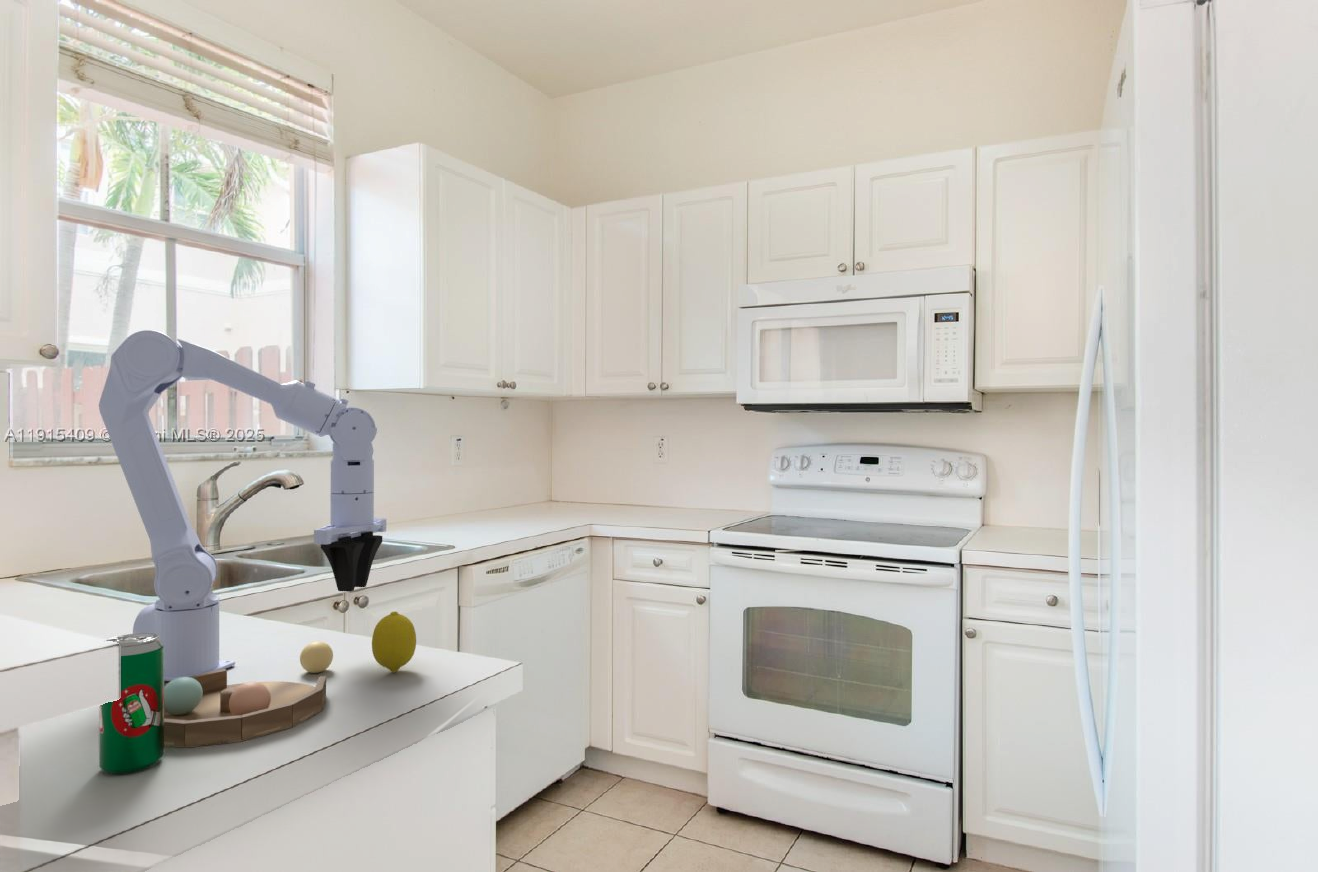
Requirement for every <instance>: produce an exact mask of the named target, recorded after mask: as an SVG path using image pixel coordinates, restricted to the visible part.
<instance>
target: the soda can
mask: <svg viewBox="0 0 1318 872" xmlns="http://www.w3.org/2000/svg"><path fill="white" fill-rule="evenodd" d="M159 637H160V636H159V635H158V634H155V633H135V634H133V633H130V634H129V633H128V634H123V635H122V634H121V635H118V636H114V637H111V638H108V639H106V640H105V641H113V642H117V643H119V644H120V646H121V698H120V699H119V700H117V701H113V702H108V703H105V704H103V705H100V706H99V707H98V711H99V712H98V717H99V721H98V723H99V724H98V725H99V727H98V728H99V730H98V731H99V732H98V735H99V736H98V737H99V738H98V743H99V744H98V745H99V746H98V749H99V751H98V752H99V754H98V755H99V756H98V757H99V758H98V764H99V768H100V769H101V771H103V772H105V773H106V774H109V775H117V776H118V775H119V776H120V775H122V776H123V775H130V774H134V773H135V774H136V773H139V772H143V771H144V770H147V769H149V768H152V767H154V766H155V765H156V764H157V763H159V762H160V760H161V759H162V758H163V756H164V755H165V746H164V684H165V681H164V645H163V644H162V643H161V641H160V640H159Z"/></svg>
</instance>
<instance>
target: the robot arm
mask: <svg viewBox="0 0 1318 872" xmlns="http://www.w3.org/2000/svg"><path fill="white" fill-rule="evenodd" d="M176 341H178V343H177V342H176ZM176 341H175V340H173V338H171V337H170V336H169V335H167V334H165V333H164V332H161V331H159V330H152V329H151V330H150V329H144V330H140V331H136V332H134V333H131V334H130V335H129V336H128V337H126V338H125V339H124V341H122V343H121V344H120V345H119V346H118V347H117V348H116V350H115V351H114V352H112V354H111V357H110V364H109V365H110V366H109V370H108V374H107V377H106V379H105V382H104V386H103V390H102V392H101V395H100V399H99V401H98V402H99V403H98V410H99V414H100V415H101V419H102V421H103V424H104V426H105V429H106V431H107V435H108V436H109V439H110V441H111V444H112V446H113V449H114V453H115V454H116V456H117V457H116V458H117V460H118V462H119V464H120V467H121V470H122V472H123V475H124V477H125V479H126V482H127V485H128V488H129V491H130V492H131V495H132V497H133V500H134V503H135V505H136V508H137V511H138V513H139V516H140V519H141V520H142V521H141V522H142V524H143V525H144V528H145V530H146V533H147V535H148V538H149V541H150V551H151V552H150V553H151V559H152V562H153V564H154V567H155V576H154V581H153V587H154V588H153V589H154V592H155V595H156V596H157V597H158V599H157V600H156V601H155V602H154V603H151V604H149V605H147V606H145V607H144V608H142V609H141V610H140V611H139V612H138V614H137V615H136V618H135V620H134V623H133V627H132V634H135V633H155V634H158V635H159V636H160V637H159V640H160V641H161V643H162V644H163V645H164V682H170V681H172V680H174V679H176V678H179V677H189V676H193V675H198V674H203V673H208V672H212V671H217V670H222V669H225V670H226V669H228V668H230V667H232V666H235V665H236V661H235V660H224V659H223V660H222V659H220V597H219V596H218V595H217V594H215V593H214V591H213V589H212V587H213V585H214V584H215V582H216V580H217V578H218V575H219V565H218V562H217V560H216V559H215V557H214V556H213V555H212V554H211V553H210V552H209V551H207V550H206V549H205V548H204V546H203V544H202V543H201V541H200V538H199V536H198V535H197V532H196V531H195V529H194V528H193V526H192V523H191V521H190V519H189V517H188V514H187V513H188V512H187V511H186V509H185V506H184V503H183V501H182V498H181V495H180V493H179V490H178V487H177V485H176V483H175V480H174V476H173V474H172V473H171V472H172V471H171V469H170V467H169V464H168V461H167V459H166V456H165V453H164V451H163V448H162V446H161V444H160V440H159V438H158V436H157V433H156V431H155V428H154V425H153V423H152V420H151V417H150V415H149V413H150V411H151V409H152V408H153V406H154V405H155V404H156V402H157V401H158V399H159V398H160V397H161V395H162V393H163V392H164V391H166V390H168V388H170V387H171V386H173V385H174V384H175V383H177V382H178V381H179V380H180V379H182V378H184V379H187V380H188V381H205V380H206V381H215V382H217V383H220V384H222V385H224V386H226V387H229V388H231V389H234V390H236V391H239V392H241V393H244V394H246V395H248V396H251V397H253V398H256V399H257V400H261V401H263V402H266V403H267V404H270V405H271V406H272V409H273V412H274V414H275V417H276V418H277V419H279V420H281V421H284V422H286V423H288V424H291V425H293V426H295V427H298V428H299V429H301V430H303V431H306V432H309V433H311V434H313V435H316V436H318V437H321V438H322V437H325V436H328V437H329V438H330V440H331V441H332V458H331V460H330V492H329V493H330V495H329V496H330V524H327V525H325V526H322V527H320V528H318V529H317V528H315V529H313V545H320V549H321V550H322V551H323V553H324V555H325V557H326V559H327V561H328V563H329V564H330V567H331V570H332V573H333V577H334V580H335V584H336V588H337V590H338V592H348V593H349V592H350V593H351V592H353V591H354V590H355V588H366V587H367V584H368V580H369V577H370V573H371V569H372V565H373V562H374V559H375V556H376V554H377V552H378V549H380V547H381V545H382V543H383V535H379V534H378V535H377V534H376V533H383V532H384V533H385V532H387V518H381V517H380V518H376V517H375V516H374V515H375V510H374V509H375V508H374V507H375V503H374V502H375V500H374V499H375V460H374V459H373V456H374V447H373V441H374V440H375V438H376V436H377V433H378V432H377V431H378V427H376V424H375V420H374V418H373V417H372V416H371V415H370V413H369V412H367V411H366V410H364V409H361V408H359V407H351V406H350V407H347V406H348V404H349V400H348V399H346V398H344V397H341V399H338V398H337V397H336V398H335V397H334V396H331V395H330V394H327V393H325V392H323V391H320V390H318V388H317V389H316V388H315V387H316V383H314V382H313V381H309V380H306V381H305V382H304V383H303V382H302V381H299V380H292V381H289V382H286V383H280V382H278V381H276V380H274V379H272V378H269V377H268V376H265V375H263V373H260V372H257V371H255V370H253V369H251V368H249V367H248V366H245V365H243V364H241V363H239V362H237V361H235V360H233V359H231V358H229V357H227V356H224V354H221V353H219V352H216V351H214V350H212V349H210V348H207V347H204V346H201V345H199V344H195V343H192V342H190V341H188V340H187V341H186V340H184V339H181V338H176ZM374 533H375V534H376V535H375V534H374Z"/></svg>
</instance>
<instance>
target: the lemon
mask: <svg viewBox="0 0 1318 872" xmlns="http://www.w3.org/2000/svg"><path fill="white" fill-rule="evenodd" d="M414 626H415V625H414V624H413V622H412V621H411V620H410V618H408V617H407V616H405V615H403V614H402V613H401V614H400V613H399V612H397V611H391V612H390V614H387V615H386V616H384V617H382V618H381V619H380V620H379V621H378V622H377V624H376V625H375V628H373V633H372V638H371V649H372V655H373V657H374V659H375V662H376V663H378V665H380V666H381V667H383V668H386V669H387V670H389V671H390V672H391V673H397V672H398V670H400V669H401V668H402V667H404V666H405V665H407V664H408V663H409V662H410V661H411V660H412V659H413V656H414V654H415V652H416V647H417V634H416V633H417V632H416V629H415V627H414Z"/></svg>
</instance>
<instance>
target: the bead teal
mask: <svg viewBox="0 0 1318 872" xmlns="http://www.w3.org/2000/svg"><path fill="white" fill-rule="evenodd" d="M168 682H169V683H168ZM168 682H167V683H168V684H167V685H166V686H165V687H164V710H165V711H166V712H168V713H170V714H173V715H183V714H186V713H189V712H191V711H192V710H194V709H195V708H196V707H197V706H198V705H199V703H200V701H201V699H202V696H203V690H202V687H201V685H200V683H199V682H198V681H197V680H195V679H193V678H191V677H179V678H176V679H174V680H172V681H168Z"/></svg>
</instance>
